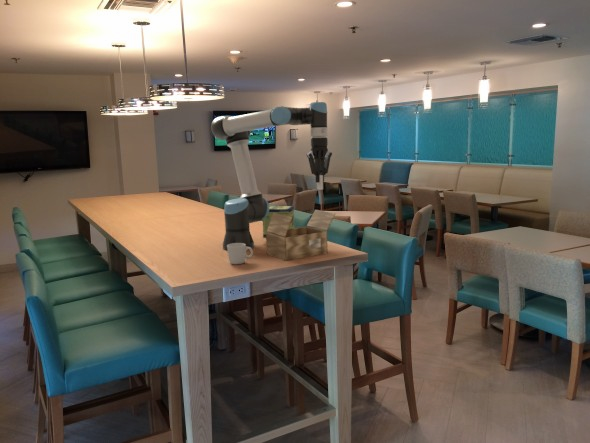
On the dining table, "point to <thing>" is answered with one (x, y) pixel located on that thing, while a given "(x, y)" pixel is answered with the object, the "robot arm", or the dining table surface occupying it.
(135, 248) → the dining table surface
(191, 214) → the dining table surface
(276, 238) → the carton
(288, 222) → the flap left
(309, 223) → the flap right
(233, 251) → the cup
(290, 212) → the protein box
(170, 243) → the dining table surface
